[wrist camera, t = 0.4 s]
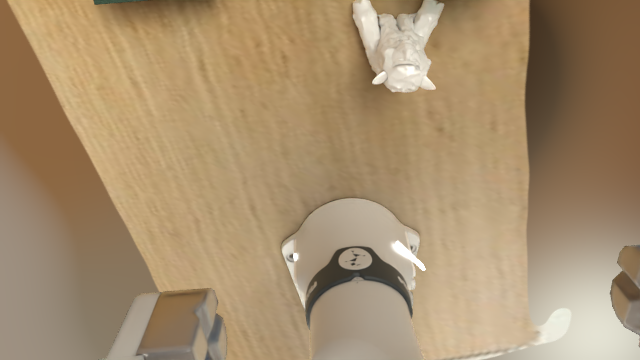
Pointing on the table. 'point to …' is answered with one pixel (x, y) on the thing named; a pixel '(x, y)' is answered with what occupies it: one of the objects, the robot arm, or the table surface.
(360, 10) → the seated beast figurine
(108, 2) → the dark green open box
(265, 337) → the table surface
